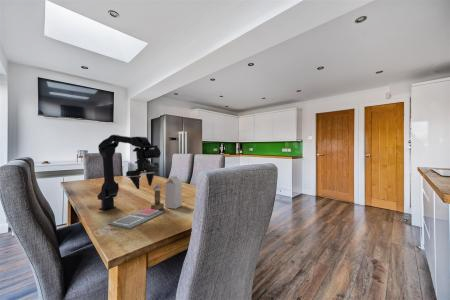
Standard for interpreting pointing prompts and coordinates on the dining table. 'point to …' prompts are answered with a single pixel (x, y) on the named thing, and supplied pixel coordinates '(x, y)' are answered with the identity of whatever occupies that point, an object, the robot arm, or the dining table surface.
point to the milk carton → (173, 193)
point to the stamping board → (136, 218)
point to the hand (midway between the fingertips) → (144, 187)
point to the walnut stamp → (157, 198)
